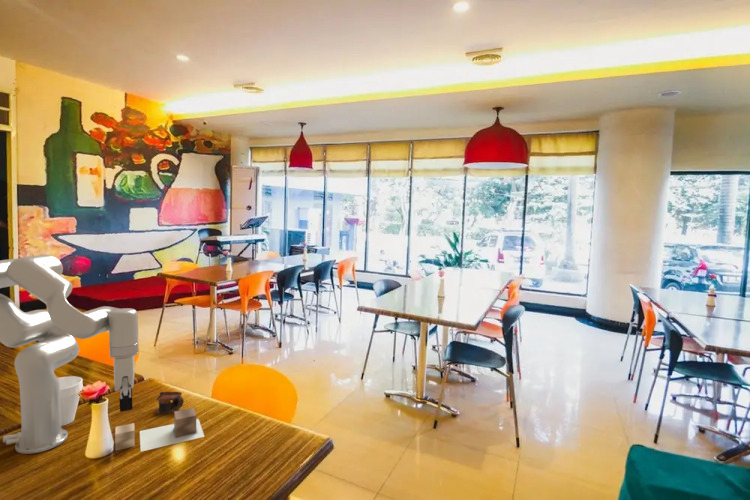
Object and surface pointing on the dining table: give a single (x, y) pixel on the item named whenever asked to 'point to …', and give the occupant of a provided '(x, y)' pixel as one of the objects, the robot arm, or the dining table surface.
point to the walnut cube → (185, 422)
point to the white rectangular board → (165, 436)
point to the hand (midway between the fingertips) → (126, 403)
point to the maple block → (124, 436)
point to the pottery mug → (169, 402)
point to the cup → (69, 397)
